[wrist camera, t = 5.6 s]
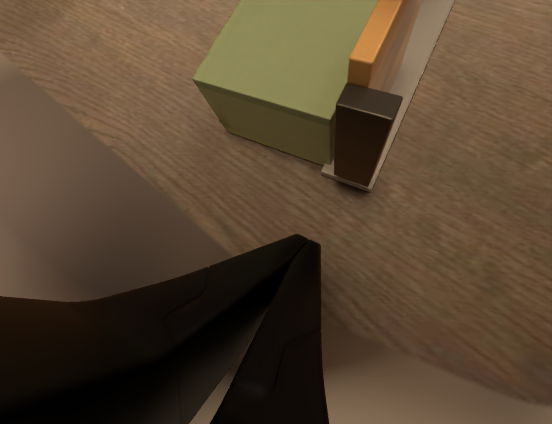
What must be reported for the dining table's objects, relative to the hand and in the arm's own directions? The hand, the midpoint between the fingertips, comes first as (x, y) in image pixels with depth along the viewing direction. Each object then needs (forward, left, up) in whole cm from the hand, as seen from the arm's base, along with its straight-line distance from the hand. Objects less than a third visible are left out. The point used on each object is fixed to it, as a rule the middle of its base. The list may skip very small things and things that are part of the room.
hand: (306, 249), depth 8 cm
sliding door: (+7, +6, -6) cm, 11 cm away
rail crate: (+8, +12, -7) cm, 16 cm away
